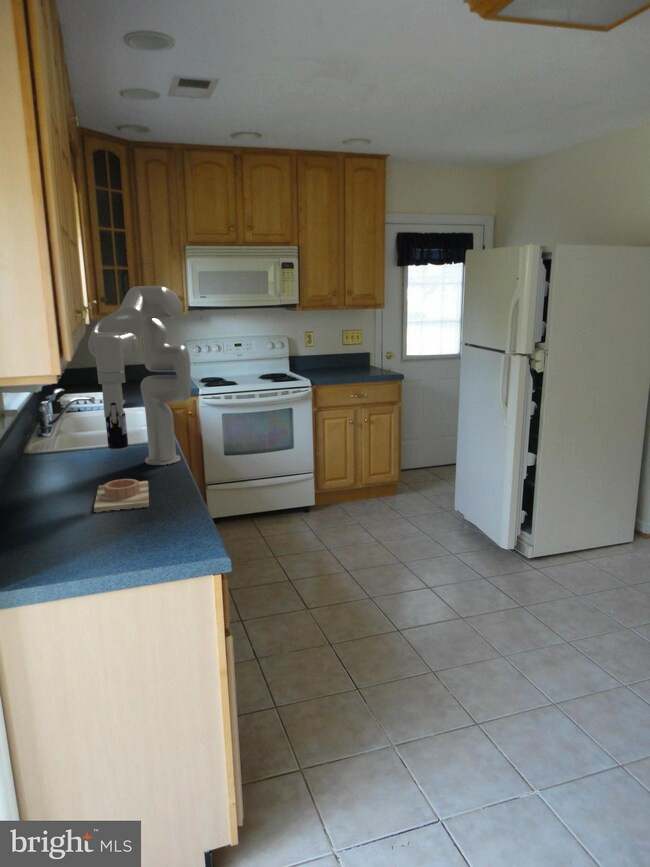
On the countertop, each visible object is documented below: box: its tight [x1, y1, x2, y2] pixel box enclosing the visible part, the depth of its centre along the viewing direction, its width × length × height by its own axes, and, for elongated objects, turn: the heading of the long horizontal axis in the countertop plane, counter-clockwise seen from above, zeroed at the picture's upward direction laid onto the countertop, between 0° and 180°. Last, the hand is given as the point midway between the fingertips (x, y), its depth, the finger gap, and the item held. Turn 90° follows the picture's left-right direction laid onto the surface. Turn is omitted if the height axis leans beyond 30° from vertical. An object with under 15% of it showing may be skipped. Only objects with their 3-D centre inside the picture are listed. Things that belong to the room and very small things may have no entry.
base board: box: [93, 480, 150, 513], centre depth 191 cm, size 22×15×2 cm
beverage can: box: [104, 408, 129, 452], centre depth 187 cm, size 6×6×12 cm
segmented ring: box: [103, 478, 140, 499], centre depth 191 cm, size 10×10×3 cm
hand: (117, 437), depth 187 cm, fingers closed on beverage can, 5 cm apart
